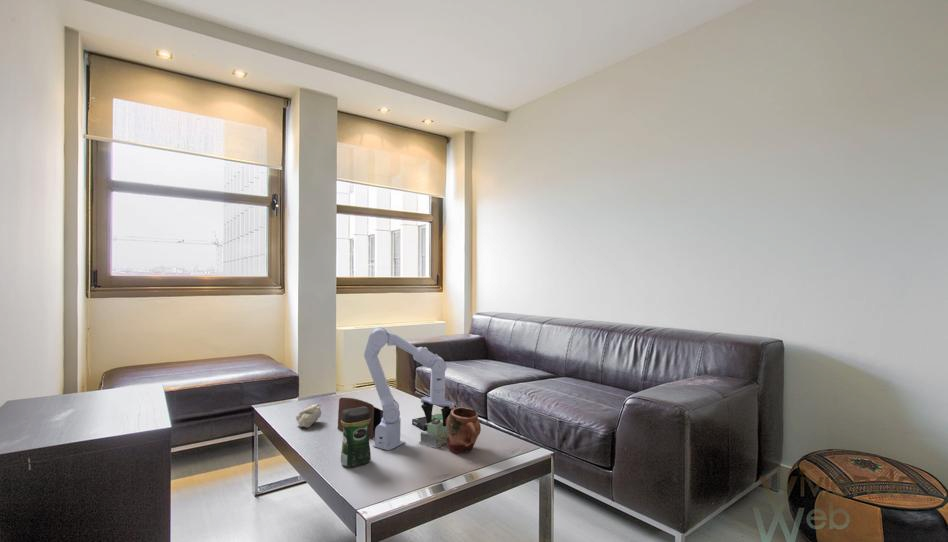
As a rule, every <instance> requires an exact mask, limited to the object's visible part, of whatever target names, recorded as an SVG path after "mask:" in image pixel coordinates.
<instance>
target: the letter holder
mask: <svg viewBox="0 0 948 542" xmlns="http://www.w3.org/2000/svg"><path fill="white" fill-rule="evenodd" d="M362 406H365V407H367V408H368V409H369V410H370V417H371V420H370V423H369V439H370V438H371V439H370V440H373V438H374V439H375V429H376V427H377V426H378V425H379V424H380V423H381V419H382V418H383V409H380V408H379V407H376V406H374V405H373V404H372V403H369V402H367V401H364V400H361V399H359V398H358V399H357V398H353V397H340V398H339V399H338V410H337V411H338V413H337V414H338V415H337V417H338V418H337V430H338V429H339V431H341V430H343V426H342V423H341V417H342V411H343V410H346V409H352V408H357V407H362Z"/></svg>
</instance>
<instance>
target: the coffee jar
mask: <svg viewBox="0 0 948 542" xmlns="http://www.w3.org/2000/svg"><path fill="white" fill-rule="evenodd" d="M370 420H371V417H370V410H369V409H368V408H367V407H365V406H362V407H357V408H352V409H346V410H343V411H342V417H341V423H342V426H343V431H342V441H341V442H342V443H341V450H340V453H341V455H340V463H341V465H342V466H343V467H346V468H355V467H358V466H362V465H366V464H368V463H370V462H371V460H372V459H371V458H372V456H371V455H372V453H371V446H370V445H371V444H370V438H369V423H370Z"/></svg>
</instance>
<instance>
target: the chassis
mask: <svg viewBox="0 0 948 542" xmlns="http://www.w3.org/2000/svg"><path fill="white" fill-rule="evenodd" d="M447 435H448V432H445V433H443V434H441V435H439V436H438V435H434V434H430V433H427V431H420V441H418V444H419V445H421V446H426V447H431V448H433V447H434V449H437V448H439V447H440V445H441V446H443V445H445V444H447ZM444 443H445V444H444ZM442 444H443V445H442Z"/></svg>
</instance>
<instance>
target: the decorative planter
mask: <svg viewBox="0 0 948 542" xmlns="http://www.w3.org/2000/svg"><path fill="white" fill-rule="evenodd" d="M446 425H447V432H448V435H447V442H446V446H447V449H448V450H449V451H450V452H452V453H455V454H463V453H469V452H471V451H472V450H473V449H474V446H475V444H476V441H477V439H478V437H479V435H480V433H481V430H482V429H481V428H482V426H481V423H480V420H479V415H478V412H477V411H476V410H475V409H472V408H468V407H467V408H466V407H462V406H457V407H454V408H453V409H452V410H451V412H450V415H449V416H448V417H447V419H446Z"/></svg>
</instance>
